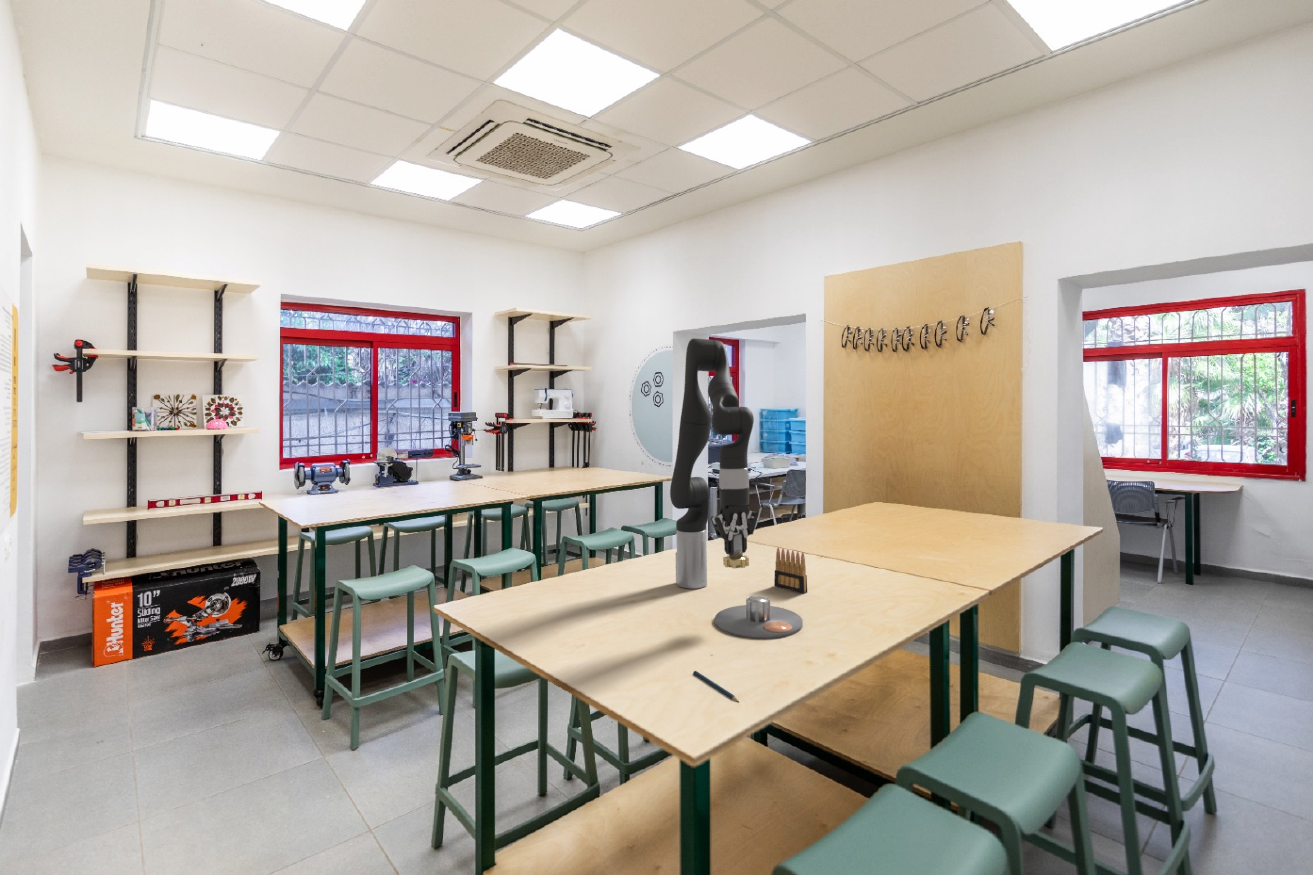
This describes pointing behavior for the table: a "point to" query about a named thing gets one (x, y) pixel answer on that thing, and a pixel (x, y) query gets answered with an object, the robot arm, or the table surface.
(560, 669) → the table surface
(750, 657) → the table surface
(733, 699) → the pencil
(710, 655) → the table surface
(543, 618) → the table surface
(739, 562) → the planet gear
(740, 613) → the carrier plate
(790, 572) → the ammunition clip
